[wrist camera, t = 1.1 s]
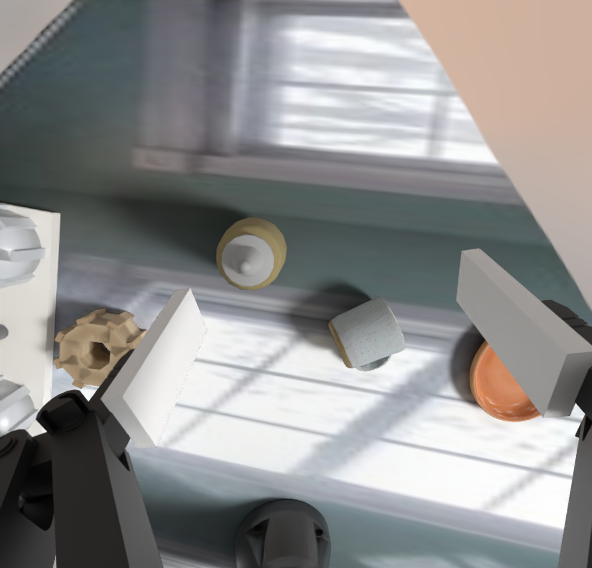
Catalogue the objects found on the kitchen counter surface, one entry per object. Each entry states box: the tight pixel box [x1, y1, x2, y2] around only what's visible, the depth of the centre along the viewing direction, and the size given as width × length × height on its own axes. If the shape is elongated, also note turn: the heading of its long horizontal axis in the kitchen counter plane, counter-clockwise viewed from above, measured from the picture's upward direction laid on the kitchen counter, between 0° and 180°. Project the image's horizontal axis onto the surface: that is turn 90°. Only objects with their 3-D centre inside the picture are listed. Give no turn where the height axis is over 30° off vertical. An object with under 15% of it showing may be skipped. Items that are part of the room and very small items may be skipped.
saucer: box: [469, 340, 541, 422], centre depth 47 cm, size 16×16×3 cm
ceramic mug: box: [328, 297, 405, 371], centre depth 41 cm, size 11×8×8 cm
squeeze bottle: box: [216, 217, 287, 290], centre depth 32 cm, size 8×8×18 cm
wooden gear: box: [54, 308, 147, 389], centre depth 40 cm, size 9×9×4 cm
